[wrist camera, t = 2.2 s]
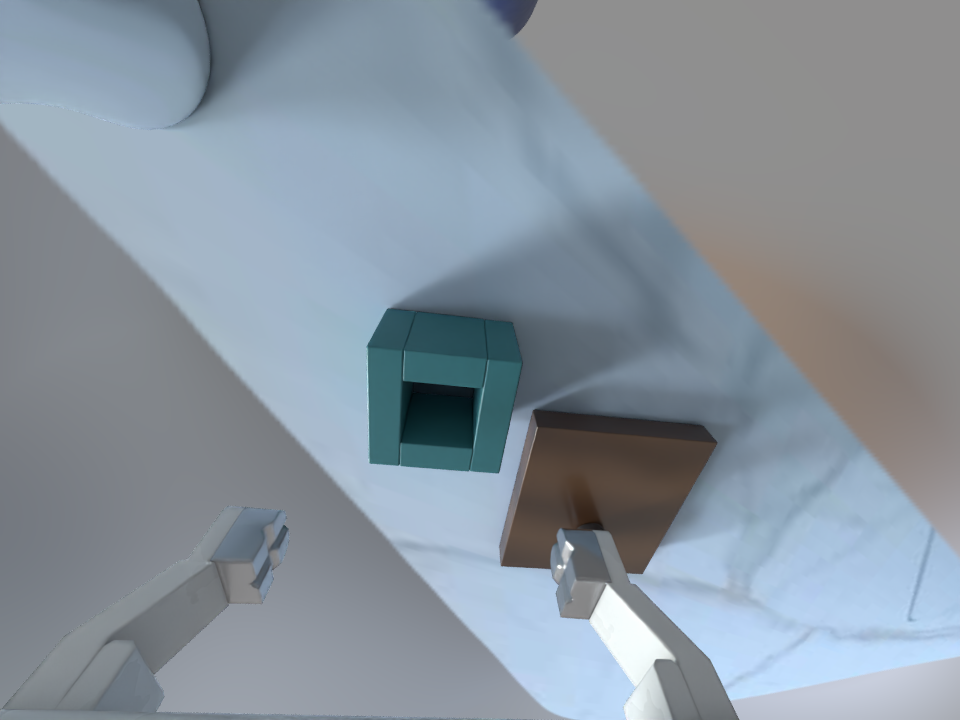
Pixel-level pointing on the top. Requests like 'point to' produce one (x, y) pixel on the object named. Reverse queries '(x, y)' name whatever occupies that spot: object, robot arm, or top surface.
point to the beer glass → (106, 58)
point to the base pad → (600, 484)
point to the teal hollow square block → (440, 418)
